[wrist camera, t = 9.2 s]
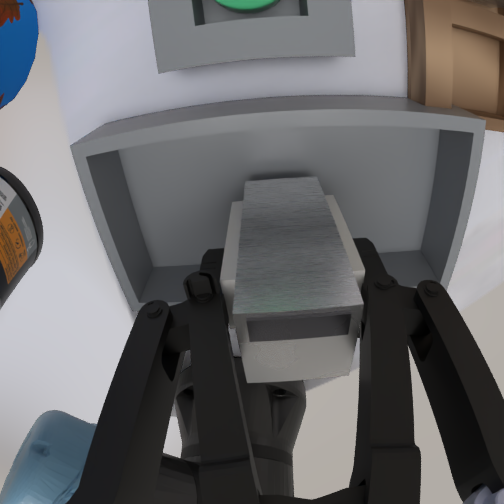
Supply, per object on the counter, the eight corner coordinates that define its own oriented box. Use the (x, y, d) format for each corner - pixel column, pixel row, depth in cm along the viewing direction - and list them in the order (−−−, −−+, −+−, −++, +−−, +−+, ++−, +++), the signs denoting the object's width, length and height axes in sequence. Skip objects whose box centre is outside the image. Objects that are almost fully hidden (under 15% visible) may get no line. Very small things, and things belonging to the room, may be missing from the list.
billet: (316, 236, 20) (349, 378, 12) (252, 241, 20) (247, 386, 12) (316, 176, 17) (365, 307, 9) (245, 181, 18) (232, 317, 10)
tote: (424, 253, 23) (446, 291, 19) (148, 270, 25) (132, 311, 21) (447, 102, 16) (486, 120, 12) (104, 123, 18) (70, 146, 14)
